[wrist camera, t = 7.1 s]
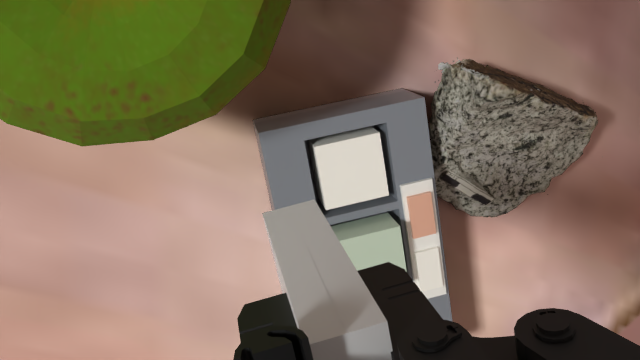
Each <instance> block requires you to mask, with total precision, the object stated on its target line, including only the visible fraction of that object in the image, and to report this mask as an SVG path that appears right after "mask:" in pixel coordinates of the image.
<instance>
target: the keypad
mask: <svg viewBox="0 0 640 360" xmlns="http://www.w3.org/2000/svg"><path fill="white" fill-rule="evenodd" d="M253 124H254V129H255V133H256V138H257V143H258V147H259V152H260V157H261V161H262V166H263V170H264V175H265V180H266V184H267V189H268V193H269V198H270V203H271V207H272V211H273V210H276V209H280V208H284V207H288V206H291V205H295V204H299V203H303V202H307V201H310V200H315V201H316V203H317V205H318V206H319V208H320V210H321V211H322V213H323V215H324V216H325V218H326V220H327V221H328V223H329V225H330V226H334V225H338V224H342V223H347V222H351V221H355V220H359V219H363V218H367V217H372V216H376V215H380V214H384V213H389V215H390V216H391V217H392V218H393V219H394V220H395V221H396V222H397V223H398V225H399V226H400V229H401V236H402V243H403V250H404V256H405V263H406V270H407V273H408V275H409V276H410V277H411V278H412V280H413V282H415V284H416V285H417V286H418V287H419V289H420V291H422V293H423V294H424V295H425V297H426V298H427V299H428V300H429V302H430V303H431V304H432V306H433V307H434V308H435V310H436V311H437V312H438V313H439V315H440V316H441V317H442V319H443V320H449V321H452V314H451V306H450V298H449V290H448V282H447V274H446V266H445V258H444V250H443V242H442V234H441V226H440V217H439V209H438V201H437V193H436V185H435V177H434V169H433V161H432V153H431V145H430V137H429V129H428V121H427V113H426V105H425V97H423V96H420V95H418V94H415V93H413V92H410V91H408V90H405V89H403V88H401V89H396V90H391V91H386V92H382V93H377V94H372V95H368V96H363V97H358V98H354V99H349V100H344V101H340V102H335V103H330V104H325V105H321V106H316V107H311V108H307V109H302V110H297V111H293V112H288V113H283V114H278V115H274V116H269V117H264V118H260V119H255V120H253ZM369 126H371V127H373V128H374V129H375V130H377V131H378V132H380V138H381V145H382V151H383V158H384V165H385V171H386V178H387V185H388V191H389V196H384V197H380V198H376V199H372V200H367V201H363V202H359V203H355V204H350V205H346V206H342V207H338V208H333V209H329V210H325V208H324V206H323V205H322V203H321V201H320V200H319V198H318V193H317V188H316V182H315V177H314V172H313V167H312V161H311V156H310V151H309V146H308V140H309V139H314V138H318V137H323V136H328V135H332V134H337V133H341V132H346V131H350V130H355V129H359V128H364V127H369Z"/></svg>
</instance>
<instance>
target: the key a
mask: <svg viewBox="0 0 640 360" xmlns="http://www.w3.org/2000/svg"><path fill="white" fill-rule="evenodd" d="M308 146H309V151H310V156H311V161H312V167H313V172H314V177H315V182H316V188H317V193H318V198H319V200H320V201H321V203H322V205H323V206H324V208H325V210H329V209H333V208H338V207H342V206H346V205H350V204H355V203H359V202H363V201H367V200H372V199H376V198H380V197H384V196H389V191H388V185H387V178H386V171H385V165H384V158H383V151H382V145H381V138H380V132H378V131H377V130H375V129H374V128H373V127H371V126H369V127H364V128H359V129H355V130H350V131H346V132H341V133H337V134H332V135H328V136H323V137H318V138H314V139H309V140H308Z"/></svg>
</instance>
